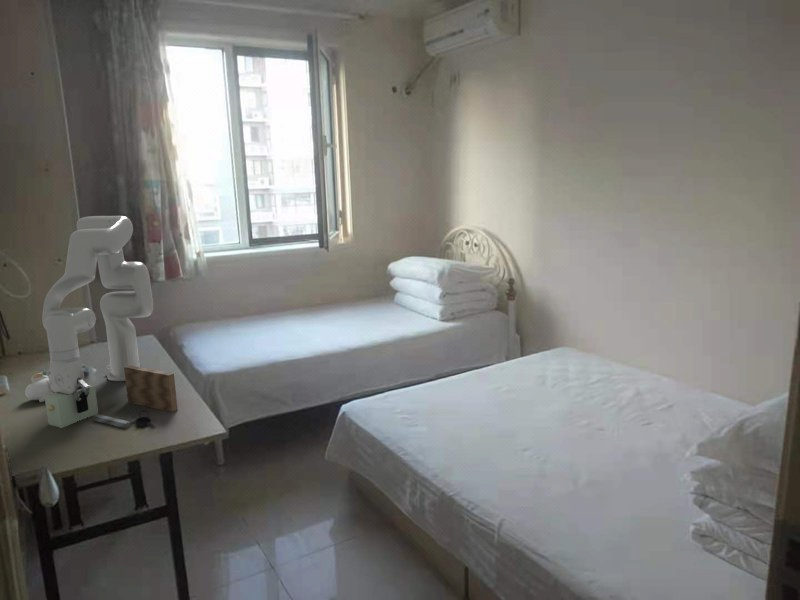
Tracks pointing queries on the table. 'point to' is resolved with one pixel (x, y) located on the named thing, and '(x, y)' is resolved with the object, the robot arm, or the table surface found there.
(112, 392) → the table surface
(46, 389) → the cat figurine
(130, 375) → the brown piece
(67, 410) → the pale green block
